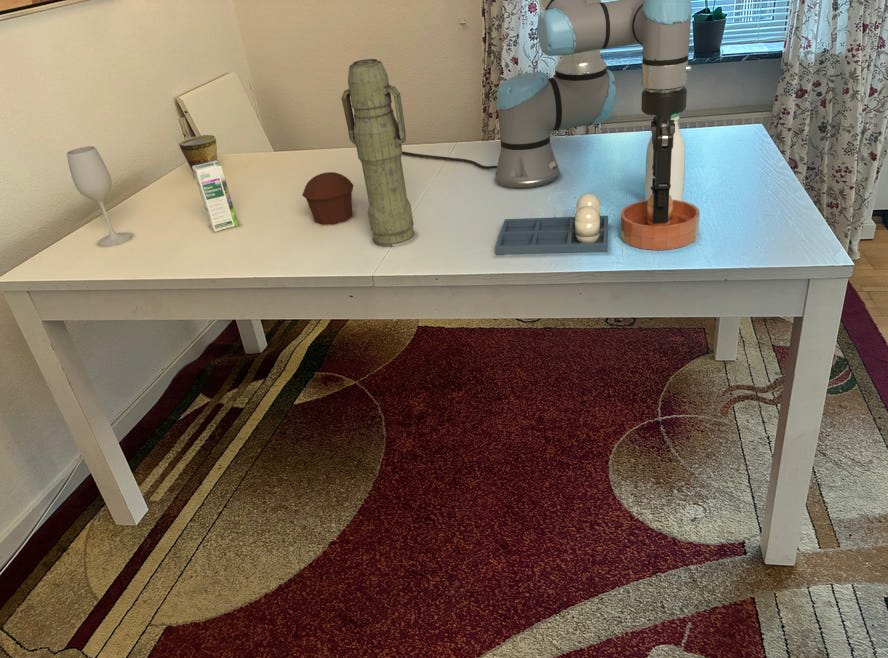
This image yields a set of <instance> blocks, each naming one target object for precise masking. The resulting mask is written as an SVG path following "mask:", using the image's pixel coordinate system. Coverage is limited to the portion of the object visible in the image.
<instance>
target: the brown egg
mask: <svg viewBox="0 0 888 658" xmlns="http://www.w3.org/2000/svg"><path fill="white" fill-rule="evenodd" d="M653 198H654V193H653V194H652V195H651V196H650V198H649V199H648V204H647V222H648V224H649V225H650V226H668V225H670V224H671V222H672V212H673V200H672V198H671V196H670V195H669V212H668V223H653Z"/></svg>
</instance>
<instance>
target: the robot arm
mask: <svg viewBox="0 0 888 658" xmlns="http://www.w3.org/2000/svg"><path fill="white" fill-rule="evenodd" d="M537 1H538V3H539V5H540V8H541V11H542V12H541V13H540V14H539V16H538V19H537V29H536V30H537V38H538V45H539V47H540V50H541V52H542V53H543V54H544V55H546V56H547V57H558V56H561V59H560V61H558V63H557V64H556V65H555V67H554V77H549V76H548V75H547V73H546V72H543V71H534V72H527V73H522V74H518V75H516V76H512V77H510V78H508V79H505V81H503V82H501V83H500V85H498V87H497V91H496V94H497V95H496V97H497V98H496V108H497V116H498V128H499V139H500V152H499V156H498V160H497V165H483V164H480V163H478V162H477V161H475V160H471V159H467V158H459V157H450V156H440V155H429V154H421V153H416V152H415V153H414V152H408V151H403V150H402V155H405V156H409V157H410V156H411V157H418V158H427V159H435V160H443V161H445V160H446V161H453V162H462V163H463V162H464V163H467V164H471V165H474V166H476V167H478V168H480V169H482V170H483V169H484V170H493V169H495V173H494V174H495V182H496V184H498V185H499V186H501V187H503V188H507V189H520V190H521V189H534V188H539V187H543V186H547V185H550V184H552V183H554V182H555V181H557V180H558V179H559V178H560V167H559V164H558V161H557V159H556V156H555V154H554V151H553V148H552V146H551V132H555V131H561V130H567V129H573V128H580V127H591V126H593V125H597V124H602V123H604V122H605V121H607V120H608V118H609V117H611V114H612V112H613V110H614V106H615V102H616V94H617V87H616V85H615V84H616V79H615V75H614V74H613V72H612V71H611V70H610V69H608V66H607V65H608V64H607V63H606V61H605V60H603V58H602V57H601V50H607V49H608V50H609V49H613V48H620V47H626V46H627V47H629V46H633V45H640V46H642V60H641V61H642V62H641V87H642V88H643V90H642V91H641V105H640V106H641V107H640V108H641V112H642V113H643V114H645V115H646V116H653V119H652V120H651V121H650V132H651V136H652V144H653V166H652V170H653V173H652V175H653V177H655V178H653V181H652V186H651V190H652V194H653V193H654V198H653V223H668V212H669V189H670V187H671V184H670V177H671V154H672V148H673V135H674V133H675V123H674V120H671V116H672V115H673V114H678V113H679V114H681V113H683V112H684V111H686V108H687V96H688V95H687V93H688V90H687V87H685V86H686V85H687V84H688V72H691V71H692V65H690V64H689V54H690V38H691V24H692V23H691V22H692V15H693V8H692V0H610V1H609V0H608V1H603V2H602V0H537ZM655 115H656V116H655Z"/></svg>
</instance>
